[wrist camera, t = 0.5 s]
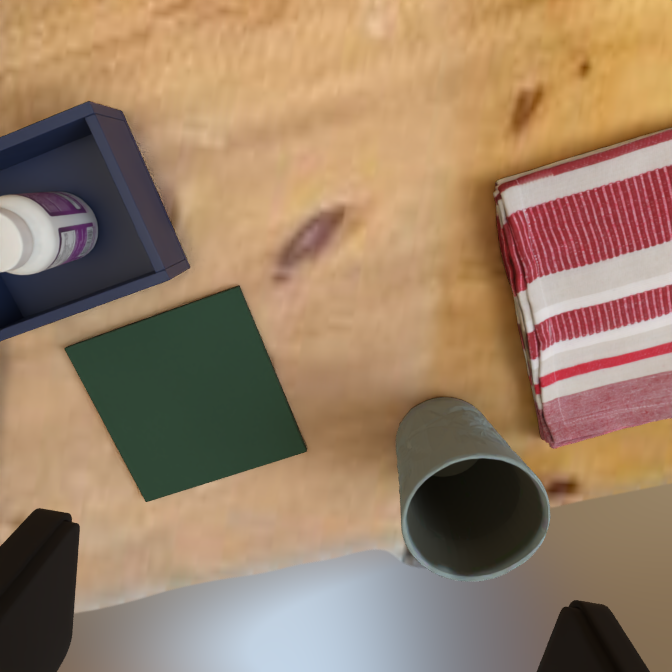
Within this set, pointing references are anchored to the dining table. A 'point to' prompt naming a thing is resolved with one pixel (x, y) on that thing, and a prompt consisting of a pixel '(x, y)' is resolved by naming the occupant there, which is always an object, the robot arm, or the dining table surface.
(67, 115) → the basket
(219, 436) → the mat
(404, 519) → the gray cup
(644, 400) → the dish towel
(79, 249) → the pill bottle
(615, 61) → the dining table surface
